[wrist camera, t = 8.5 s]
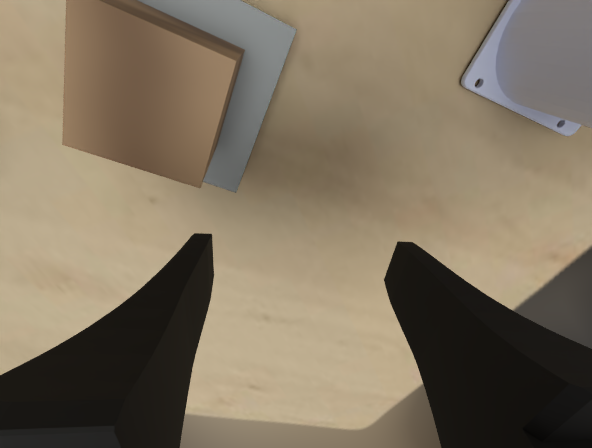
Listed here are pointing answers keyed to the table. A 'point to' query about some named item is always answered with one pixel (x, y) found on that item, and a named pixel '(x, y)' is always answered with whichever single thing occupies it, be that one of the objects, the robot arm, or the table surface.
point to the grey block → (251, 77)
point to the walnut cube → (145, 87)
